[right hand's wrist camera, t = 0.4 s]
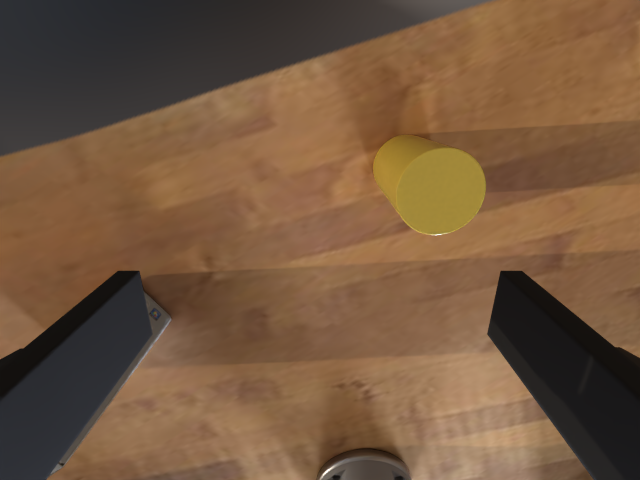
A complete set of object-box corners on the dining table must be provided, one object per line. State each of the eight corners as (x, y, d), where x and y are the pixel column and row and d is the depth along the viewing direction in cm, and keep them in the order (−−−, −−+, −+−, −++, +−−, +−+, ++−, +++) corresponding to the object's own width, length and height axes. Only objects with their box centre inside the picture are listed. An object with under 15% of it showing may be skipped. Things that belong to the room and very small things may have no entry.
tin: (415, 120, 36) (459, 127, 25) (446, 173, 38) (501, 203, 27) (360, 160, 37) (378, 183, 26) (394, 209, 39) (424, 251, 28)
